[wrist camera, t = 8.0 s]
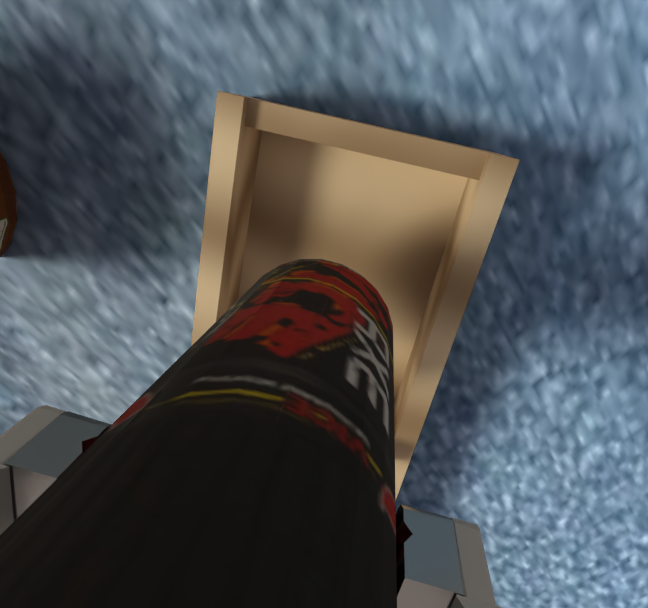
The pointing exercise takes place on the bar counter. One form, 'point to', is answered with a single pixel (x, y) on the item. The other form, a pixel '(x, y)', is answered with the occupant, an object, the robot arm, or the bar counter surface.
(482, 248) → the tray
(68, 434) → the robot arm
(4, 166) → the food container
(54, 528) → the deodorant
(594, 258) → the bar counter surface
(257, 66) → the bar counter surface
